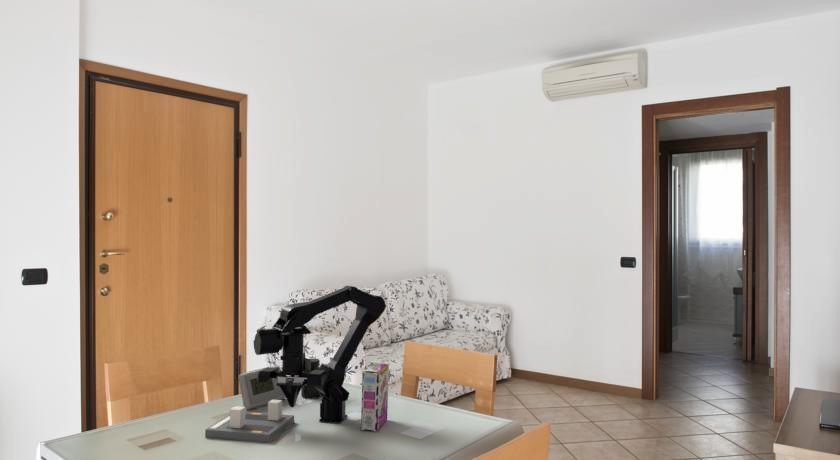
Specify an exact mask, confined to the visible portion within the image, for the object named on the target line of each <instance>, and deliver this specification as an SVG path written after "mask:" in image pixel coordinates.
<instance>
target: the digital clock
mask: <svg viewBox="0 0 840 460" xmlns="http://www.w3.org/2000/svg"><path fill="white" fill-rule="evenodd" d="M270 367H271V368H278V369H279V372H280V371H282V370H281V369H282V368H281V367H280V365H274V366H270ZM265 368H266V367H263V368H258V369H254V370H250V371H248V372H247V371H246V372H243V373H240V374H238V383H239V384H238V385H239V389H240V393H241V397H242V398H241V399H242V404H243V407H246V410H252V409H257V408H261V407H264V406H268V402H269V401H271V400H282V401H283V400H285V399H286V397H285V395H284V393H283V391H282V390H281V388H280V386H277V383H278V378H270V380H269V381H268V382H258V381H257V375H258V372H259V371H261V370H263V369H265Z"/></svg>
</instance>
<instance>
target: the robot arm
mask: <svg viewBox="0 0 840 460" xmlns="http://www.w3.org/2000/svg"><path fill="white" fill-rule="evenodd" d="M348 302H351V303H353V304H355V305H356V308H355V318H354V321H353V322H352V324H351V325H350V327H349V329H348V331H347V332H346V334H345V336H344V338H343V339H342V342H341V343H340V345H339V347H338V348H337V351H336V352H335V354H334V356H333V357H332V359H331V360H330V361H329V362H328V363H327V364H324V363H323V362H321V363H320V366H319V367H320V368H319V370H313V371H312V372H310V373H303V372H306V371H310V367H311V360H310V359H311V358H307V357H306V352H304V344H305V343H304V339H305V338H304V335H310V334H311V333H312V331H311V330H310V329H309V328H308V327H307V326H306V324H308V323H309V322H311V321H312V320H313V319H314V318H315V317H316V316H318V315H319V314H321V313H324V312H326V311H329V310H331V309H334V308H336V307H338V306H342V305H344V304H346V303H348ZM386 307H387V304H386V301H385V299H384V298H383V297H382V296H379V295H376V294H371V293H370V294H369V293H367V292H365V291H363V290H360V289H359V288H357V287H356V286H352V285H345V286H344V287H342V288H339V289H336V290H335V291H332V292H330V293H327V294H325V295H322V296H320V297H317V298H315V299H312V300H310V301H309V300H308V301H304V302H297V303H291V304H286V305H284V306H283V307H282V309H281V311H280V315H279V317H278V318H277V319H276V321H275V323H274V324H273V325H272V327H271V328H257V329H256V334H255V335H254V339H253V350H254V354H255V355H256V356H261V355H268V354H271V355H272V354H278V353H279V352H280V351H282V353H281V355H280V356H279V357H280V361H281V363H282V364H281V367H282V368H281V369H282V370H281V371H280V372H279V369H278V368H271V367H272V366H267V367H264V368H265V369H263V370H261V371H259V372H258V375H257V381H258V382H268V381H269V380H270V378H278V383H277V386H280V388H281V390H282V391H283V393H284V395H285V397H286V398H285V399H286V400H287V403H288V405H289V408H295V405H296V403H297V400H298V398H299V394H300V393H301V388H302V386H303V385H305V384H306V383H309V385H315V388H316V389H317V390H318V391H319V392H320V395H321V396H320V397H322V398H321V403H319V418H320V419H319V423H320V422H321V423H332V424H341V423H343V421H345V419H347V417H348V414H346V402H347V401H348V399H349V397H350V396H349V395H350V392H349V391H348V390H347V389H346V388H345V387H343V385H344V382H345V380H346V379H345V378H346V369H347V367H348V366H349V363H350V362H351V360H352V358H353V356H354V354H355V352H356V351H357V349H358V347H359V345H360V343H361V342H362V341H363V338H364V337H365V335H366V334H367V331H368V330H369V328H370V326H371V325H372V324H374V323H375V322H377V321H378V319H379V318H380V317H381V316H382V315H383V313H384V312H385V310H386V309H387V308H386Z"/></svg>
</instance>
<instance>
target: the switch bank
mask: <svg viewBox="0 0 840 460" xmlns="http://www.w3.org/2000/svg"><path fill="white" fill-rule="evenodd" d="M294 423H295V415H294V414H282V418H281V419H279V420H268V412H255V411H245V425H244V426H243V427H241V428H231V427H230V414H228V415H227V416H225V417H224V418H222V419H220V420H218V421H217V422H215V423H214V424H212V425H210V426H209V427H208V428H206V429H205V431H204V432H205V433H204V436H205V438H212V439H220V440H221V439H223V440H236V441H246V442H259V443H269V444H270V442H272V441H273V440H274V439H276V438H277V437H278V436H279V435H280V434H282V433H283V432H284V431H285V430H287V429H288V428H289V427H291V425H293V424H294Z"/></svg>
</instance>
